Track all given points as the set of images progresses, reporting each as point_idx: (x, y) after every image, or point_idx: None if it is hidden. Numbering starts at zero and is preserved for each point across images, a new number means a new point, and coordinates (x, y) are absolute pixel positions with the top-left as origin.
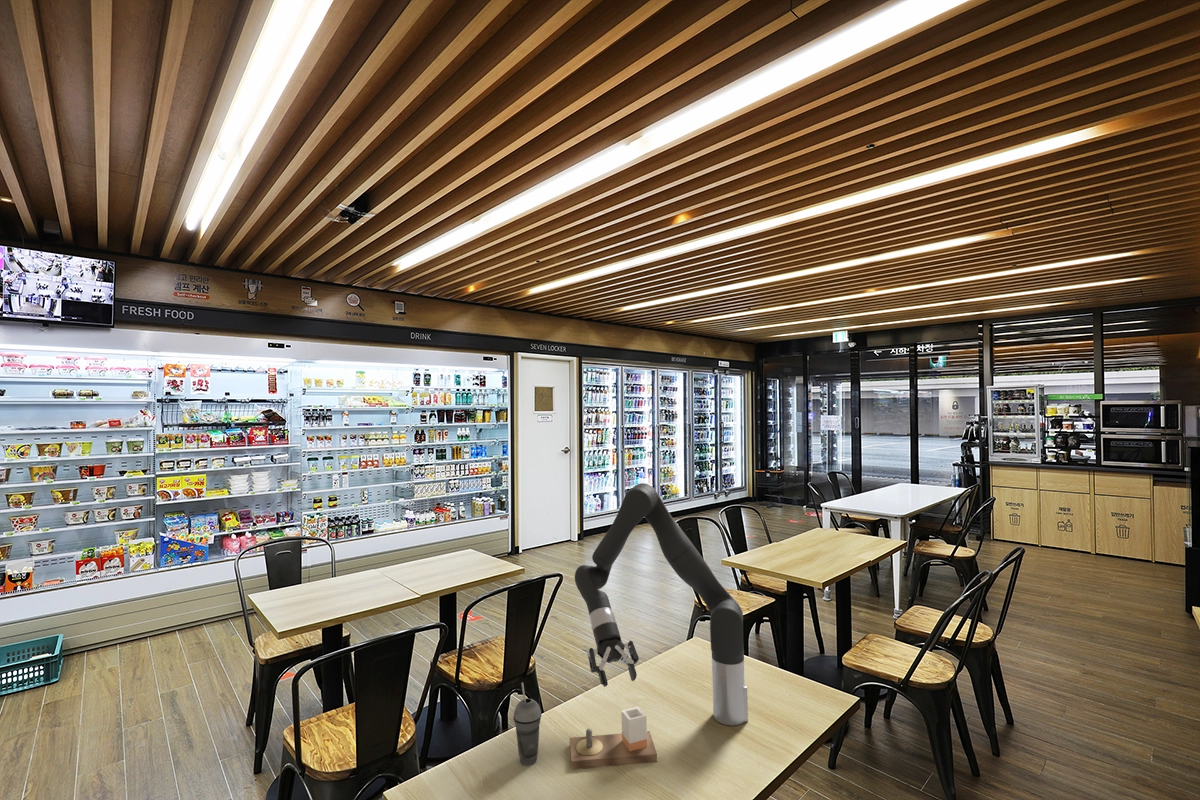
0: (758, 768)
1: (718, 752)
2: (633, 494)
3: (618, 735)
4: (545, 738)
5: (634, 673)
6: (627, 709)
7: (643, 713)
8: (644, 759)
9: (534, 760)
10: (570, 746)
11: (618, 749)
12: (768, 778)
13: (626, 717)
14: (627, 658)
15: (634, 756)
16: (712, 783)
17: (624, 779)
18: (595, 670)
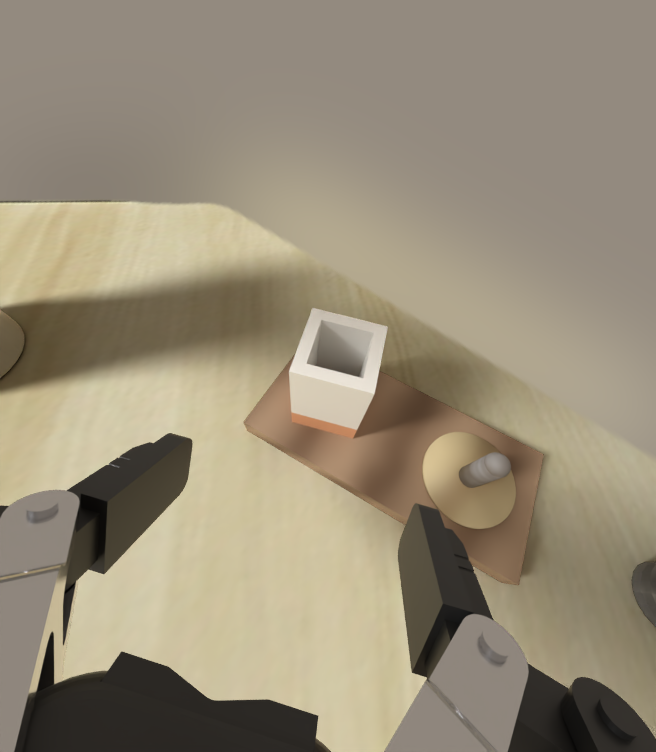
0: (161, 224)
1: (166, 288)
2: None
3: (346, 470)
4: None
5: (151, 447)
6: (345, 383)
7: (309, 324)
8: None
9: (652, 563)
10: (529, 527)
11: (388, 411)
12: (177, 205)
13: (383, 347)
14: (27, 569)
15: None
16: (268, 248)
17: (414, 350)
18: (555, 694)
